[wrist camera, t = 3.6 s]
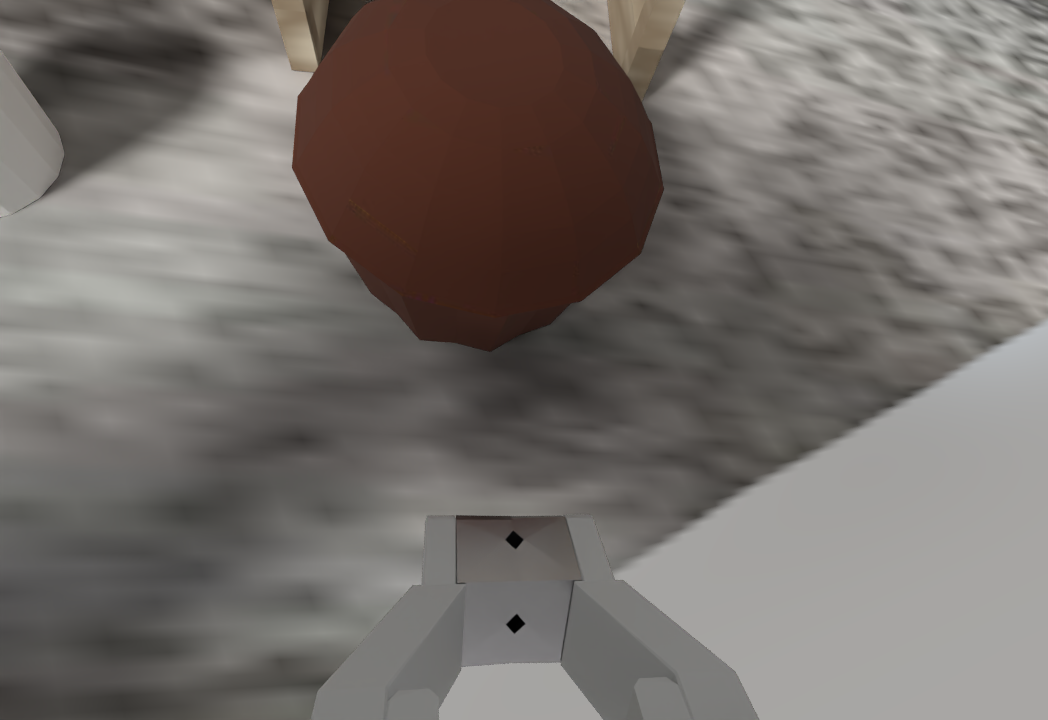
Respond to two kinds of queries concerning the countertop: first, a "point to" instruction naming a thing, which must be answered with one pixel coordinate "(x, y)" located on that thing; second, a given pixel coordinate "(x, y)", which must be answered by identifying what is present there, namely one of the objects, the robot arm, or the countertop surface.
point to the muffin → (476, 162)
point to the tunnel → (634, 13)
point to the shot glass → (24, 144)
